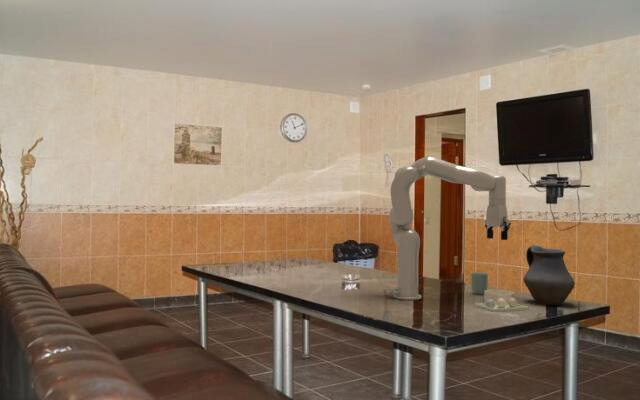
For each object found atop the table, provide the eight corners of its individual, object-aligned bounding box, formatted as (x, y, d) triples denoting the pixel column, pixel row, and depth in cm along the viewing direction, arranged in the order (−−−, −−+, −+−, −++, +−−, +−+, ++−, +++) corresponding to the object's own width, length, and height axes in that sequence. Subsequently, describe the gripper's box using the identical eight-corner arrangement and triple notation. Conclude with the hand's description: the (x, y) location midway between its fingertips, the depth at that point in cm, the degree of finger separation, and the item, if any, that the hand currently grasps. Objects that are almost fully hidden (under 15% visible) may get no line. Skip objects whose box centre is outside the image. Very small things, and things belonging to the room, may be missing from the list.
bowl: (496, 305, 228) (496, 295, 228) (478, 300, 240) (478, 290, 240) (520, 304, 232) (520, 293, 232) (501, 299, 244) (501, 289, 244)
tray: (493, 313, 212) (493, 309, 212) (474, 307, 224) (474, 303, 224) (529, 310, 218) (529, 306, 218) (508, 305, 230) (508, 301, 230)
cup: (488, 295, 253) (488, 274, 253) (471, 295, 255) (471, 274, 255) (486, 293, 261) (487, 272, 261) (470, 292, 262) (470, 272, 262)
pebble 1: (489, 309, 216) (489, 299, 217) (483, 307, 220) (483, 298, 220) (497, 309, 218) (497, 299, 218) (491, 307, 222) (491, 297, 222)
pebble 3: (511, 308, 220) (511, 298, 220) (505, 306, 224) (505, 297, 224) (519, 307, 222) (519, 298, 222) (513, 306, 225) (513, 296, 225)
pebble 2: (500, 309, 218) (500, 299, 218) (494, 307, 222) (494, 297, 222) (508, 308, 220) (508, 298, 220) (502, 306, 223) (502, 297, 223)
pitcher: (551, 309, 221) (552, 249, 221) (510, 301, 240) (511, 245, 240) (584, 306, 230) (584, 247, 230) (542, 297, 249) (543, 244, 250)
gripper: (478, 202, 255) (478, 238, 255) (503, 202, 239) (503, 240, 239) (491, 202, 258) (491, 237, 258) (516, 202, 242) (516, 240, 242)
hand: (497, 239), depth 249 cm, fingers open, 9 cm apart
